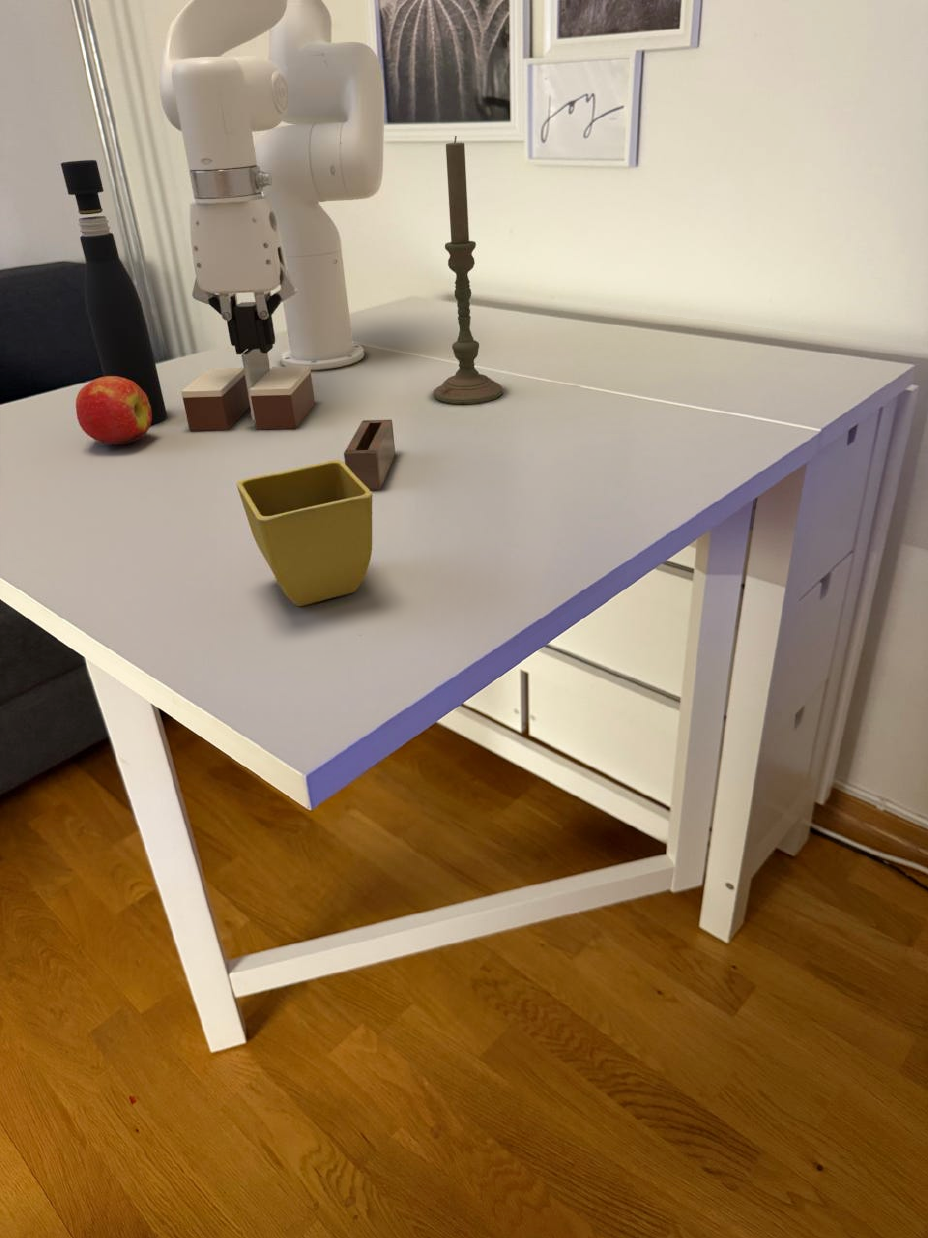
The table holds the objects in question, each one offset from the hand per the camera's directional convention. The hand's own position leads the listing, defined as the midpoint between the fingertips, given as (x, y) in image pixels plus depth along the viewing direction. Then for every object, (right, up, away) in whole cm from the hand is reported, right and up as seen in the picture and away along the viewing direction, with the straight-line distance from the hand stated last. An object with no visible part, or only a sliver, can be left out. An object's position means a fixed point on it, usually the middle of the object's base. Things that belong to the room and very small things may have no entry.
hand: (254, 349), depth 110 cm
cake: (-5, -7, +5) cm, 10 cm away
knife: (0, -7, +4) cm, 8 cm away
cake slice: (+3, -7, +4) cm, 9 cm away
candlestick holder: (+26, -4, +8) cm, 28 cm away
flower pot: (+14, -31, -37) cm, 50 cm away
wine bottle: (-16, -7, +6) cm, 19 cm away
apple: (-16, -12, -2) cm, 20 cm away
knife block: (+16, -17, -15) cm, 28 cm away
